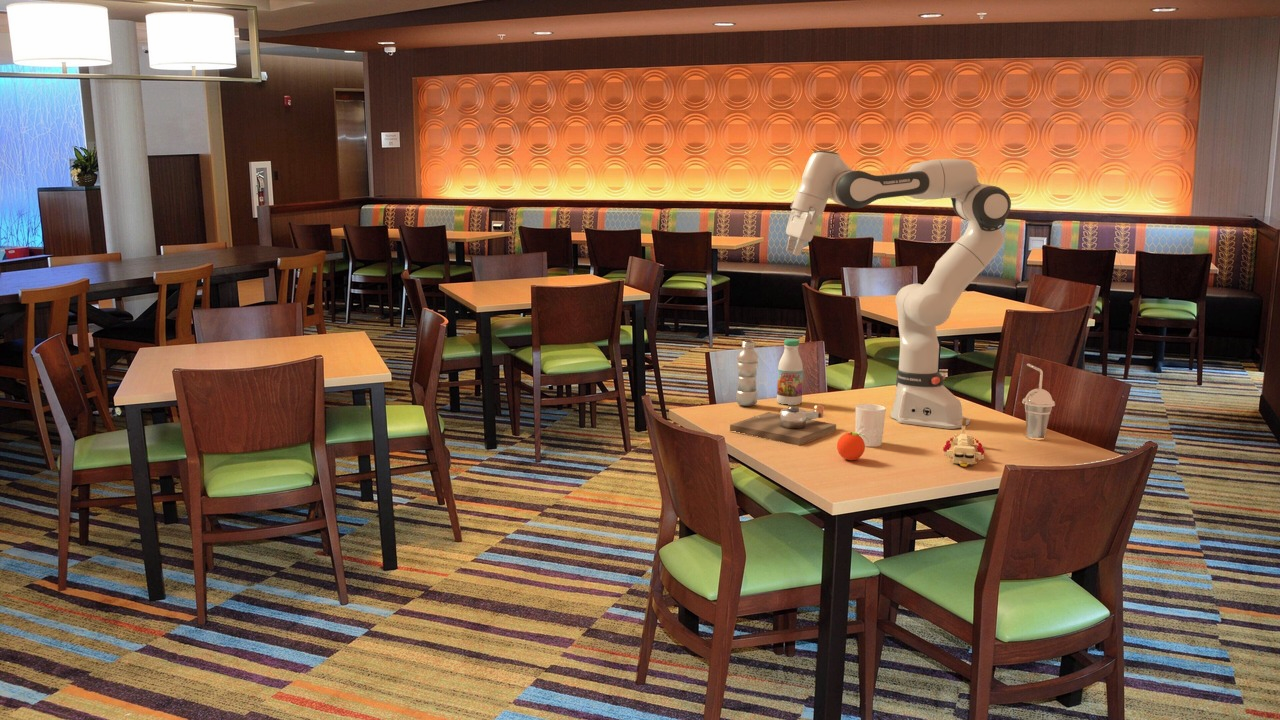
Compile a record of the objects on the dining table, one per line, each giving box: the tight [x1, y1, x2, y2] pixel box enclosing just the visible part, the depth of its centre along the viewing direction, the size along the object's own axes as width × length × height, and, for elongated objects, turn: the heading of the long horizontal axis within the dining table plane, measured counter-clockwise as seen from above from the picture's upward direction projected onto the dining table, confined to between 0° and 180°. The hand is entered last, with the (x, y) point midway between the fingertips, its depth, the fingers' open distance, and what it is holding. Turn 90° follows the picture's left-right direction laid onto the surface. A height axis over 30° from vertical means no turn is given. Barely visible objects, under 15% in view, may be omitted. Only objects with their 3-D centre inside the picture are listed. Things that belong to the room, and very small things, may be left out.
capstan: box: [779, 404, 824, 428], centre depth 292 cm, size 16×7×5 cm, turn 131°
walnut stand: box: [729, 411, 837, 446], centre depth 291 cm, size 22×20×2 cm
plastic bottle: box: [735, 340, 759, 407], centre depth 320 cm, size 6×7×20 cm
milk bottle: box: [776, 338, 804, 406], centre depth 325 cm, size 8×8×20 cm
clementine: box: [836, 432, 869, 461], centre depth 264 cm, size 8×7×7 cm
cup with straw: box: [1021, 363, 1056, 439], centre depth 286 cm, size 8×9×20 cm
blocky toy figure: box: [942, 418, 985, 468], centre depth 268 cm, size 10×9×25 cm
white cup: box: [854, 403, 887, 448], centre depth 279 cm, size 8×8×10 cm
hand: (792, 253), depth 296 cm, fingers open, 8 cm apart
